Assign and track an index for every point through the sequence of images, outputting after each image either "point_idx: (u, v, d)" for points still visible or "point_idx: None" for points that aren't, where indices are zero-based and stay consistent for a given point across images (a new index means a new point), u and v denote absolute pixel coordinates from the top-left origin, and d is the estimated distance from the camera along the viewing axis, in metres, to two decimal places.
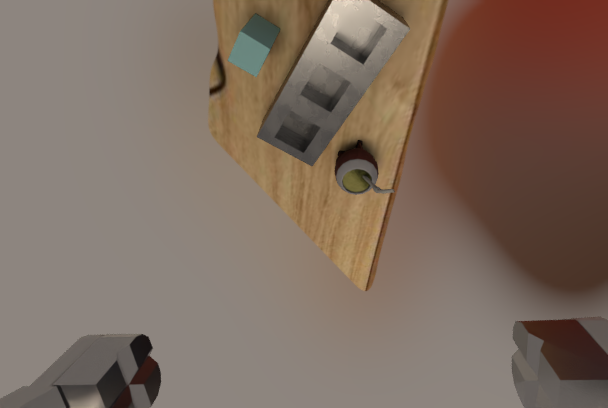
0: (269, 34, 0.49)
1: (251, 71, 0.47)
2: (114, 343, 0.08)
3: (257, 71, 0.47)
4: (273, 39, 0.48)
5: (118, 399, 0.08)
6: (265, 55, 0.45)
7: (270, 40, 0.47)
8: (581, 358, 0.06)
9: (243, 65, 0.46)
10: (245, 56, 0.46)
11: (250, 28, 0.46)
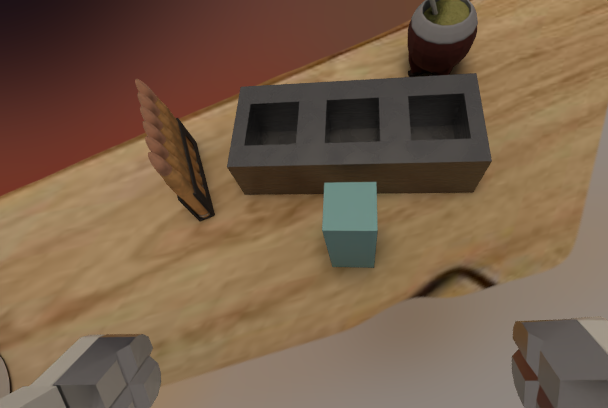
0: None
1: (372, 191, 0.28)
2: (114, 343, 0.08)
3: (366, 184, 0.28)
4: None
5: (118, 399, 0.08)
6: (336, 184, 0.29)
7: None
8: (581, 358, 0.06)
9: (370, 206, 0.27)
10: (354, 208, 0.28)
11: None
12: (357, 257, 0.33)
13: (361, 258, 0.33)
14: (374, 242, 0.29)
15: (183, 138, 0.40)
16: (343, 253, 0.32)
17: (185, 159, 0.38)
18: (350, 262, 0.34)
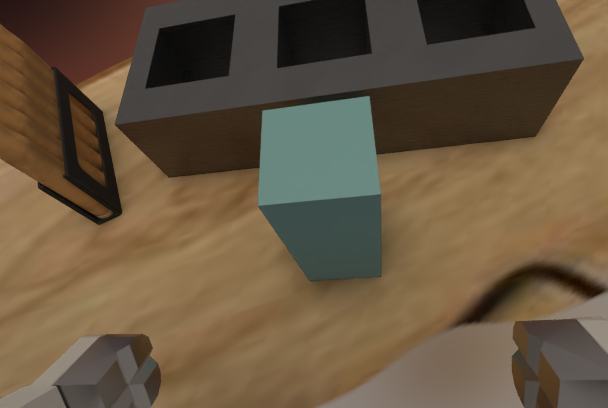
0: None
1: (361, 115, 0.13)
2: (114, 343, 0.08)
3: (349, 102, 0.13)
4: None
5: (118, 399, 0.08)
6: (287, 111, 0.14)
7: None
8: (581, 357, 0.06)
9: (360, 144, 0.12)
10: (326, 154, 0.13)
11: None
12: (349, 260, 0.18)
13: (356, 262, 0.18)
14: (377, 225, 0.14)
15: (60, 94, 0.25)
16: (320, 255, 0.17)
17: (55, 123, 0.23)
18: (338, 271, 0.19)
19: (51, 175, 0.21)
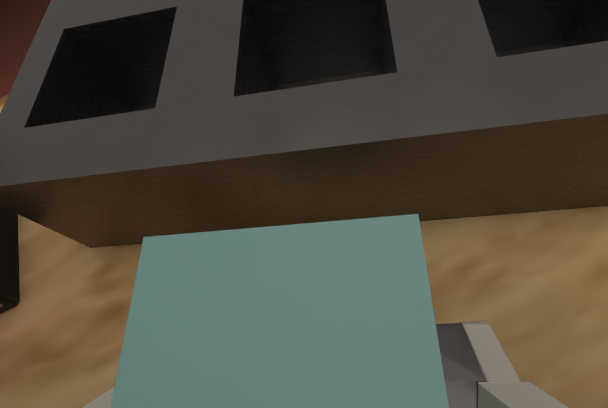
0: None
1: (399, 278, 0.05)
2: None
3: (363, 231, 0.05)
4: None
5: None
6: (203, 243, 0.05)
7: None
8: (451, 360, 0.06)
9: (399, 385, 0.04)
10: None
11: None
12: None
13: None
14: None
15: None
16: None
17: None
18: None
19: None
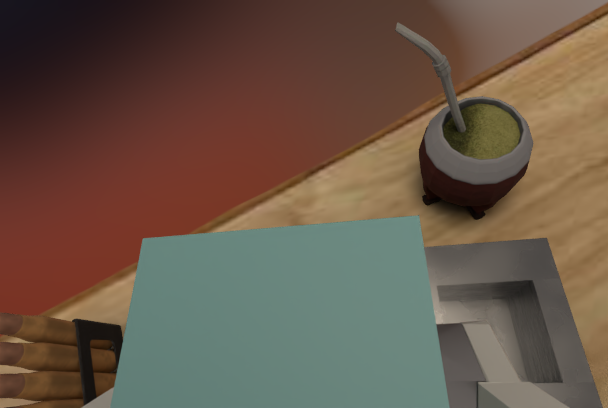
0: None
1: (400, 280, 0.05)
2: None
3: (364, 233, 0.05)
4: None
5: None
6: (202, 244, 0.05)
7: None
8: (451, 361, 0.06)
9: (399, 388, 0.04)
10: None
11: None
12: None
13: None
14: None
15: (83, 358, 0.25)
16: None
17: None
18: None
19: None
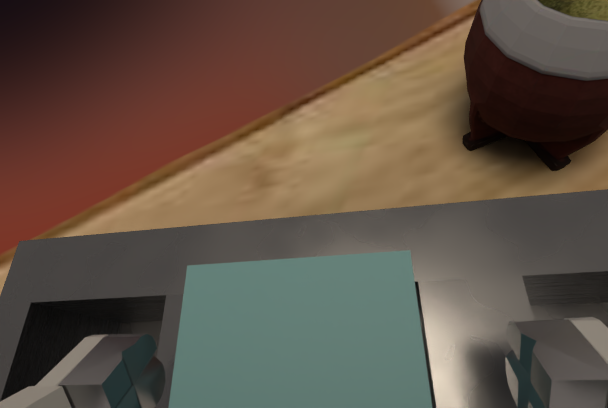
0: None
1: (395, 302, 0.06)
2: (119, 343, 0.08)
3: (366, 264, 0.06)
4: None
5: (123, 399, 0.08)
6: (236, 271, 0.07)
7: None
8: (573, 358, 0.06)
9: (394, 386, 0.05)
10: (314, 405, 0.05)
11: None
12: None
13: None
14: None
15: None
16: None
17: None
18: None
19: None
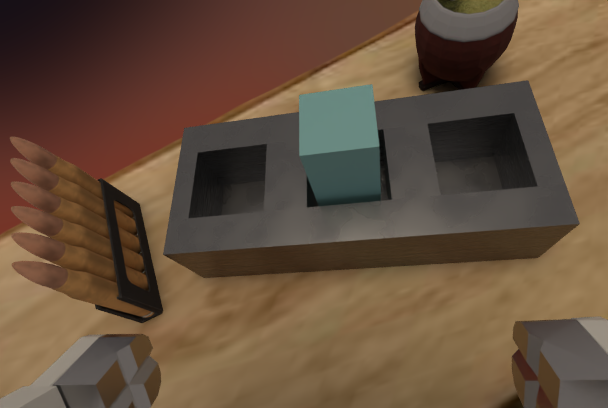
0: None
1: (367, 97, 0.19)
2: (114, 343, 0.08)
3: (358, 89, 0.20)
4: None
5: (118, 399, 0.08)
6: (316, 95, 0.20)
7: None
8: (581, 358, 0.06)
9: (366, 115, 0.19)
10: (343, 122, 0.19)
11: None
12: None
13: None
14: (377, 173, 0.20)
15: (108, 208, 0.28)
16: (337, 201, 0.23)
17: (107, 243, 0.26)
18: None
19: (108, 299, 0.24)
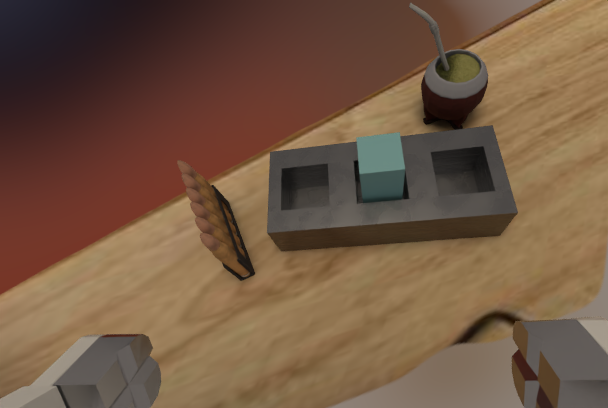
0: None
1: (396, 140, 0.34)
2: (114, 343, 0.08)
3: (391, 135, 0.34)
4: None
5: (118, 399, 0.08)
6: (366, 137, 0.35)
7: None
8: (582, 358, 0.06)
9: (396, 151, 0.33)
10: (384, 154, 0.34)
11: None
12: None
13: None
14: (402, 183, 0.35)
15: (220, 204, 0.42)
16: (374, 199, 0.38)
17: (226, 226, 0.40)
18: None
19: (233, 261, 0.38)
